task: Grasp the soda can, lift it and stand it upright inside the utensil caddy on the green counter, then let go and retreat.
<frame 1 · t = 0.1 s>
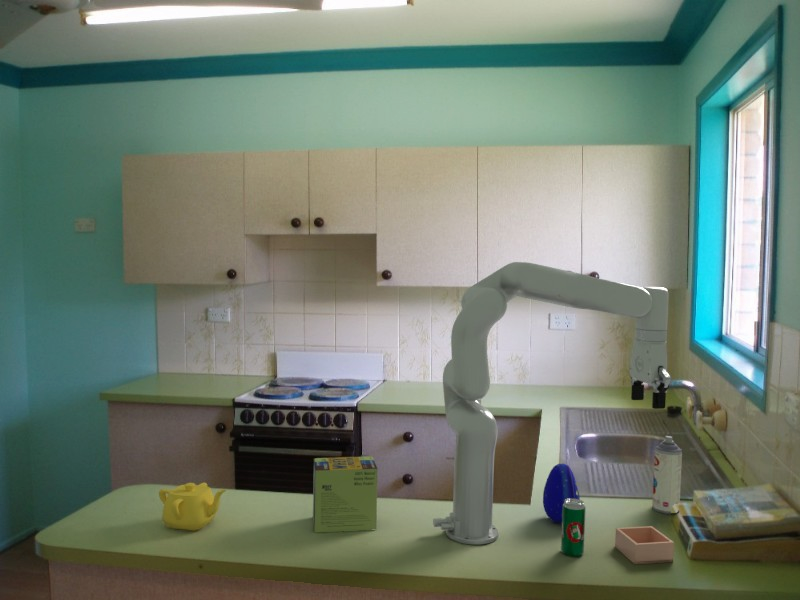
hand: (647, 403, 172), 31 cm above the worktop, fingers open, 9 cm apart
caddy: (643, 554, 156), on the worktop
aerosol can: (665, 510, 185), on the worktop
soda can: (572, 553, 157), on the worktop
ornament: (560, 522, 175), on the worktop
teapot: (192, 525, 168), on the worktop
protein box: (343, 524, 171), on the worktop
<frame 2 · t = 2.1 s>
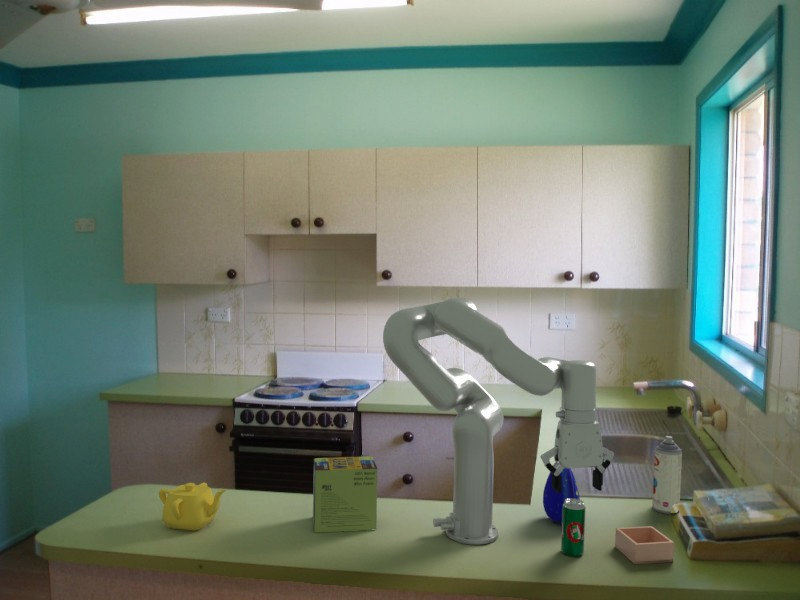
hand: (577, 490, 155), 15 cm above the worktop, fingers open, 9 cm apart
nothing on the worktop moved.
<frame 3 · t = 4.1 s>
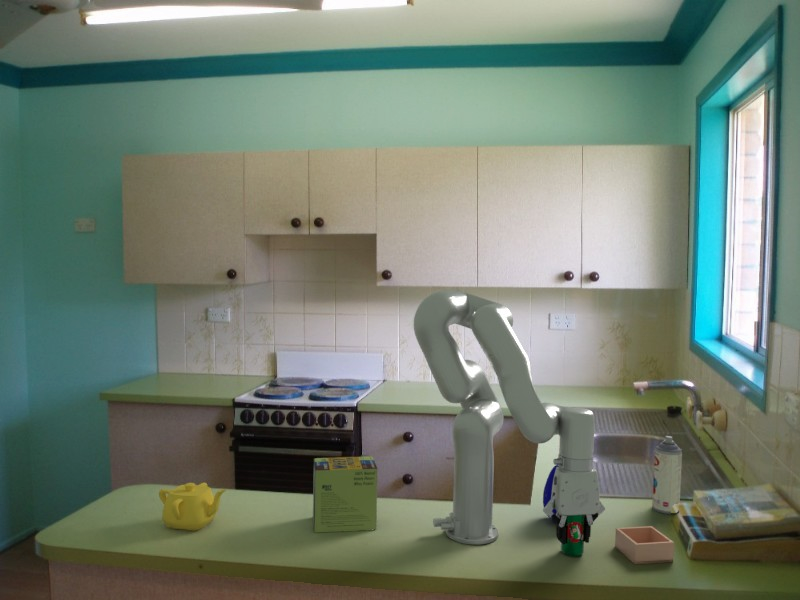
hand: (573, 540, 156), 3 cm above the worktop, fingers closed on soda can, 4 cm apart
soda can: (572, 553, 156), on the worktop, touching gripper
everything else where it was.
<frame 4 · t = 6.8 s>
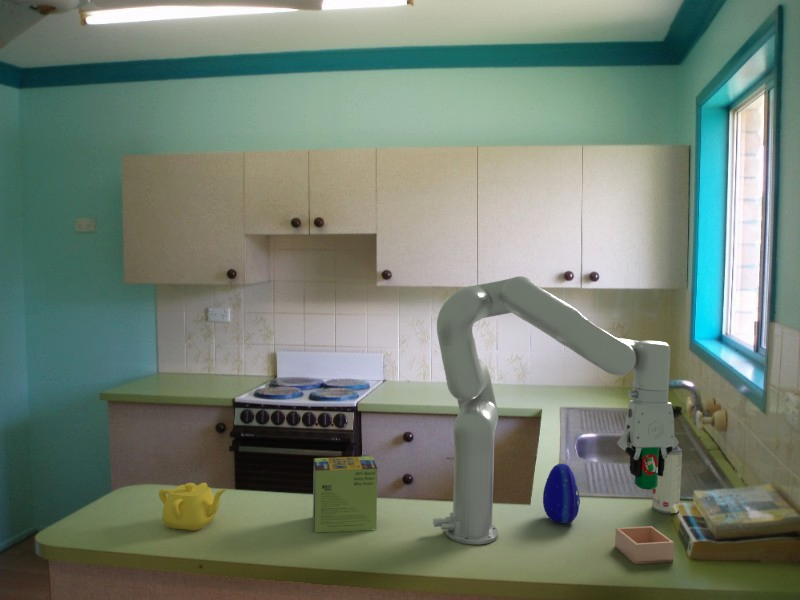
hand: (646, 474, 155), 19 cm above the worktop, fingers closed on soda can, 4 cm apart
soda can: (645, 487, 155), point 16 cm above the worktop, touching gripper
everything else where it was.
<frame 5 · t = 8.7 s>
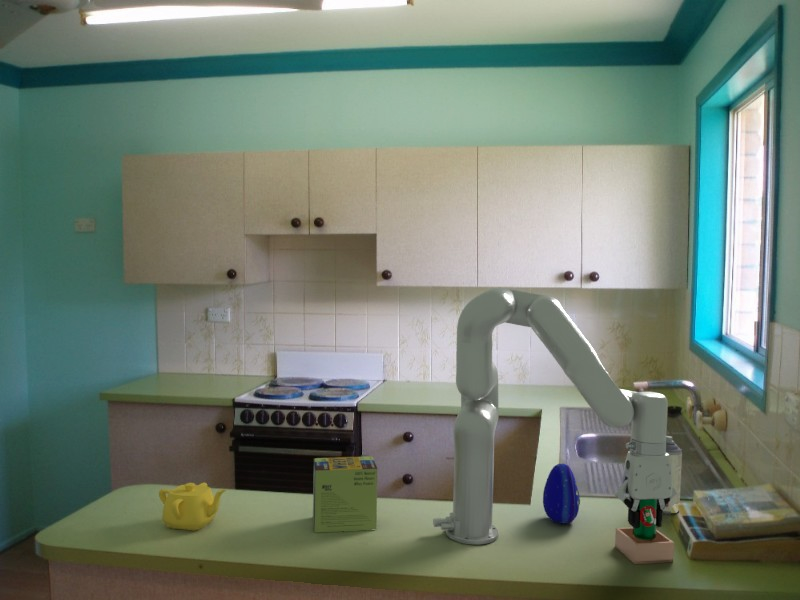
hand: (644, 524, 156), 7 cm above the worktop, fingers closed on soda can, 4 cm apart
soda can: (644, 537, 156), point 4 cm above the worktop, touching gripper
everything else where it was.
when the fingers open (5 cm above the worktop, at t = 9.9 s): soda can drops 2 cm, resting on caddy.
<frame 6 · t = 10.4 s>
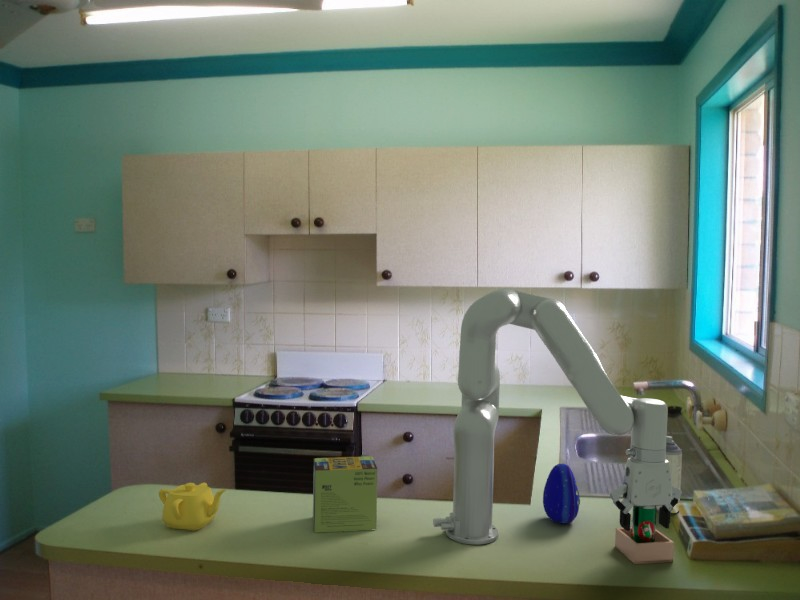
hand: (644, 527, 156), 6 cm above the worktop, fingers open, 9 cm apart
soda can: (642, 552, 156), resting on caddy
everything else where it was.
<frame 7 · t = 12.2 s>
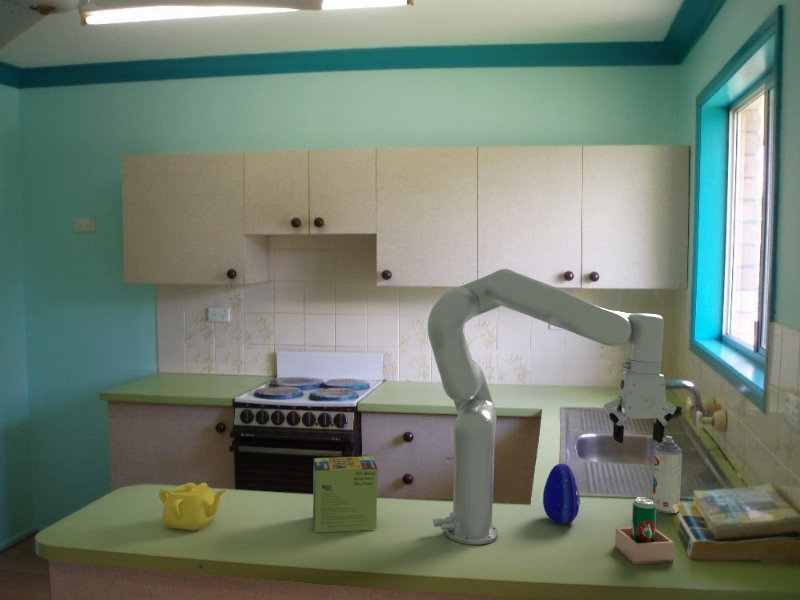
hand: (637, 441, 157), 26 cm above the worktop, fingers open, 9 cm apart
nothing on the worktop moved.
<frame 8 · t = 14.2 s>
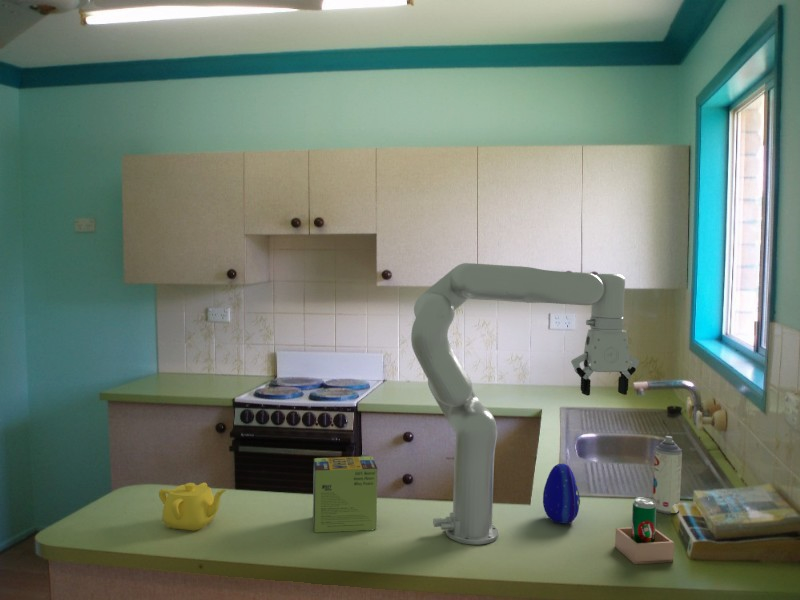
hand: (604, 394, 167), 34 cm above the worktop, fingers open, 9 cm apart
nothing on the worktop moved.
at the end: soda can 0.3 cm from the caddy (horizontally); soda can touching caddy; soda can tilted 0° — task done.
